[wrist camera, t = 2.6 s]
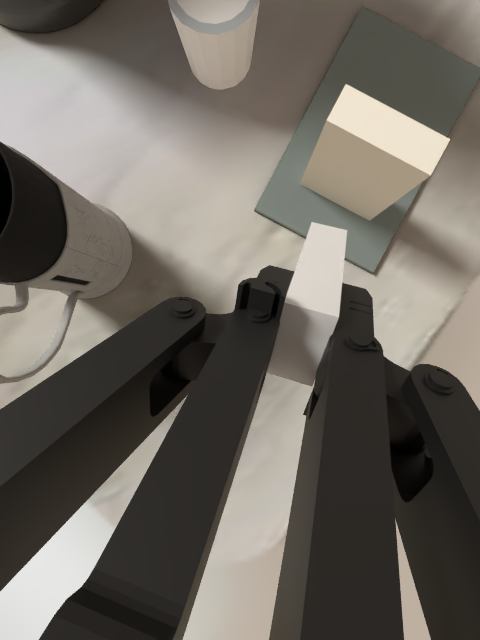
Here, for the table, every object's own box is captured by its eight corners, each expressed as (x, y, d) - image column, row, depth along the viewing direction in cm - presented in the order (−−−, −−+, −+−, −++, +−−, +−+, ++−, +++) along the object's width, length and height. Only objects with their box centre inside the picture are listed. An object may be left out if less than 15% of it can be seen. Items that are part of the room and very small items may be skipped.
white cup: (255, 16, 31) (259, -72, 24) (261, 93, 31) (265, 28, 24) (179, 22, 31) (160, -64, 24) (185, 99, 31) (167, 37, 24)
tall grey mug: (127, 197, 31) (17, 90, 16) (143, 352, 31) (50, 389, 16) (32, 208, 31) (-165, 110, 16) (49, 362, 31) (-129, 406, 16)
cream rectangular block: (369, 220, 30) (430, 175, 20) (299, 183, 30) (326, 120, 20) (383, 195, 30) (451, 136, 20) (313, 158, 30) (347, 81, 20)
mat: (371, 273, 31) (373, 272, 30) (254, 210, 31) (254, 209, 30) (479, 74, 30) (483, 70, 30) (360, 10, 30) (362, 5, 30)
